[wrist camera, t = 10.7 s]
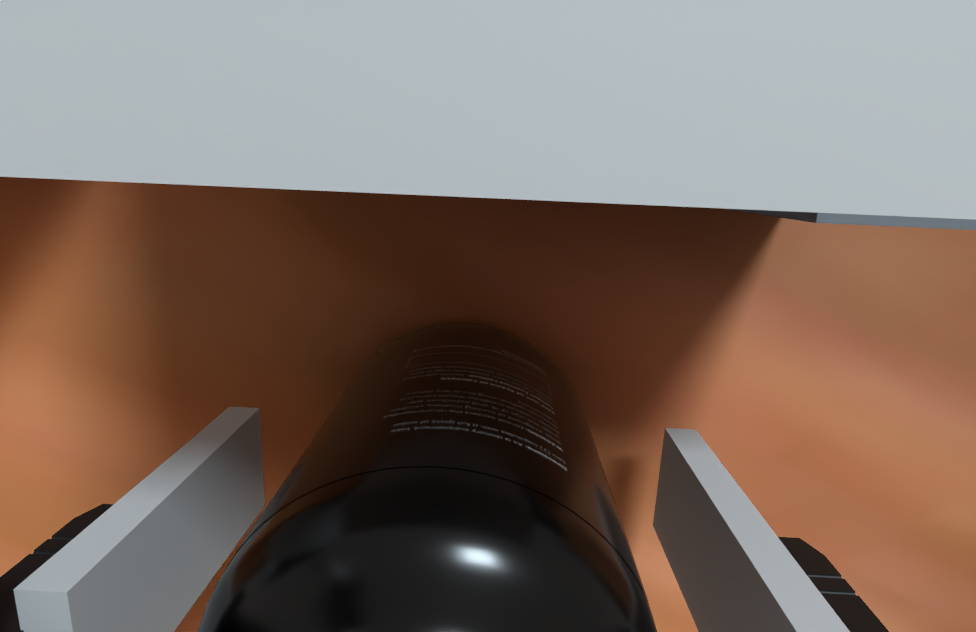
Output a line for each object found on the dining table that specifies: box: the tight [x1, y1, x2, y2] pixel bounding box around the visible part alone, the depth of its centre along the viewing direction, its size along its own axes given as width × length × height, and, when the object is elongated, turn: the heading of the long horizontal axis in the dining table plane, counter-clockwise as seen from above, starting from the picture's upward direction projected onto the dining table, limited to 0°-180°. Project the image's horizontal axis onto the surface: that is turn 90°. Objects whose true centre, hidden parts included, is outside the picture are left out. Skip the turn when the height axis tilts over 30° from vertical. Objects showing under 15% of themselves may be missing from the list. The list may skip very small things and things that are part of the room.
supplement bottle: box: [198, 324, 657, 632], centre depth 10 cm, size 7×7×12 cm
